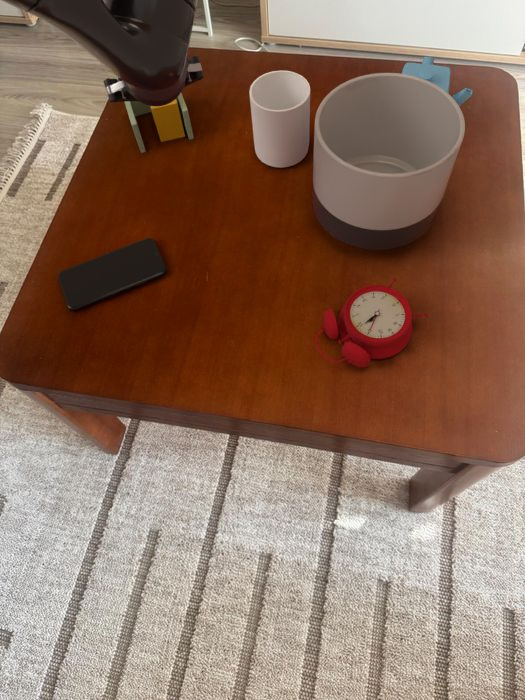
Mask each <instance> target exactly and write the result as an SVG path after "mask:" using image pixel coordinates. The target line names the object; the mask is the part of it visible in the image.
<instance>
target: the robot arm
mask: <svg viewBox="0 0 525 700" xmlns="http://www.w3.org/2000/svg"><path fill="white" fill-rule="evenodd" d="M1 1H2V2H4V3H5V4H8V5H11V6H12V7H15V8H17V9H19V10H22V11H24V12H26V13H27V14H29V15H32V16H34V17H36V18H37V19H40V20H42V21H44V22H45V23H47V24H49V25H50V26H52V27H53V28H54V29H56V30H58V31H59V32H61V33H62V34H63V35H65V36H66V37H67V38H69V39H70V40H72V41H73V42H74V43H75V44H77V45H78V46H79V47H80V48H82V49H83V50H84V51H85V52H86V53H88V54H89V55H90V56H91V57H92V58H94V59H95V60H96V61H97V62H98V63H100V64H101V65H102V66H104V68H106V69H107V70H108V71H109V72H110V73H112V74H113V75H114V76H116V77H117V78H111V77H110V78H109V77H107V78H105V79H103V85H104V88H105V91H106V94H107V97H108V100H109V102H110V103H114V104H115V103H125V102H128V101H137V102H138V101H140V102H141V103H143V104H146V105H149V106H164V105H167V104H169V103H171V102H172V101H174V100H175V99H176V98H177V97H178V96H179V95H180V93H181V94H182V92H183V90H184V88H186V87H188V86H190V85H192V84H194V83H197V82H198V81H202V80H203V79H205V75H204V72H203V68H202V64H201V60H200V56H197V55H193V56H192V57H190V58H189V47H190V43H191V37H192V33H193V28H194V22H195V17H196V12H197V7H198V1H199V0H1Z"/></svg>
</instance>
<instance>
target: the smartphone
mask: <svg viewBox="0 0 525 700" xmlns="http://www.w3.org/2000/svg"><path fill="white" fill-rule="evenodd" d="M167 272H168V268H167V265H166V263H165V260H164V258H163V256H162V253H161V252H160V249H159V246H158V245H157V242H156V240H155V239H154V238H152V237H147V238H143V239H141V240H138V241H136V242H133V243H131V244H128V245H126V246H123V247H120V248H118V249H115V250H113V251H109V252H107V253H104V254H102V255H100V256H97V257H94V258H92V259H90V260H86V261H84V262H82V263H79V264H76V265H74V266H71V267H69V268H66V269H63V270H61V271H60V272H59V273H58V276H57V279H58V282H59V285H60V289H61V292H62V294H63V298H64V301H65V304H66V307H67V309H68V310H69V311H71V312H76V311H79V310H82V309H84V308H87V307H89V306H91V305H94V304H96V303H99V302H101V301H104V300H106V299H109V298H112V297H114V296H117V295H120V294H121V293H124V292H127V291H129V290H132V289H134V288H137V287H139V286H142V285H144V284H147V283H149V282H152V281H154V280H157V279H159V278H161V277H164V276H165V275H166V274H167Z"/></svg>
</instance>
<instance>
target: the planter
mask: <svg viewBox="0 0 525 700" xmlns="http://www.w3.org/2000/svg"><path fill="white" fill-rule="evenodd" d="M451 96H452V95H450V94H448V93H447V92H446V91H445V90H443V89H442V88H440V87H439V86H437V85H435V84H434V83H432V82H429V81H427V80H425V79H422V78H419V77H415V76H412V75H407V74H401V73H400V72H375V73H369V74H364V75H361V76H357V77H354V78H351V79H349V80H347V81H345V82H343V83H341V84H339V85H338V86H336V87H334V89H332V90H331V91H330V92H329V93H327V95H325V97H324V98H323V99H322V100H321V102H320V104H319V105H318V108H317V109H316V113H315V116H314V132H313V135H314V136H313V164H312V197H311V200H312V201H311V204H312V210H313V212H314V215H315V217H316V220H317V221H318V222H319V224H320V225H321V227H322V228H323V229H324V230H325V231H326V232H327V233H328V234H330V235H331V236H332V237H334V238H335V239H337V240H338V241H340V242H342V243H344V244H346V245H349V246H352V247H355V248H359V249H363V250H364V249H365V250H373V251H375V250H376V251H380V250H381V251H383V250H385V251H386V250H391V249H396V248H400V247H404V246H406V245H408V244H409V245H410V243H413V242H414V241H416V240H418V239H419V238H421V237H422V236H423V235H425V233H427V232H428V230H429V229H430V228H431V227H432V226H433V224H434V222H435V220H436V218H437V215H438V213H439V211H440V207H441V204H442V202H443V198H444V196H445V193H446V190H447V187H448V184H449V181H450V179H451V175H452V173H453V169H454V167H455V164H456V161H457V158H458V155H459V152H460V150H461V146H462V144H463V141H464V139H465V138H464V137H465V133H466V122H465V116H464V114H463V110H462V109H461V107H460V106H459V105H458V104H457V103H456V101H455V100H454V99H453V98H452V97H451Z"/></svg>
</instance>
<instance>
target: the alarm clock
mask: <svg viewBox="0 0 525 700" xmlns="http://www.w3.org/2000/svg"><path fill="white" fill-rule="evenodd" d="M396 280H397V278H396V277H393V278H392V281H391V283H390V284H389V286H386V285H382V284H370V285H366V286H363V287H360V288H359V289H357V290H355V291H354V292H353V293H352V294H350V296H349V297H348V298H347V300H346V301H345V303H344V305H343V307H342V308H341V310H340V312H339V314H338V318H337V320H336V316H335V313H334V310H333V309H332V308H329V309H327V310H325V311H324V313H323V314H322V324H320V326H319V327H320V328H322V329H321V330H320V331H319V332H318V333H317V335H316V337H315V340H314V343H315V346H316V349H317V350H318V352H319V354H320V355H321V356H322V357H323V358H324V359H325V360H326V361H328V362H330V363H332V364H338V363H341V362H344V361H347V362H348V364H349V365H353V366H355V367H357V368H365V367H367V366H368V365H369V364H370V363H371V360H383V359H384V360H385V359H388V358H391V357H394V356H395V355H398V354H399V353H400V352H402V351H403V350H404V349H406V347H407V345H408V344H409V342H410V340H411V338H412V336H413V335H412V334H413V318H419V317H425V318H428V317H429V314H428V313H425V314H413V312H412V308H411V306H410V303H409V301H408V300H407V298H406V297H405V296H404V295H403V294H402V293H400V291H398V290H397V289H395V288H392V287H393V285H394V282H396ZM324 332H325V334H326V336H327V337H328V339H330V340H337V339H338V338H340V339H339V340H338V341H337V342H338V343H339V345H341V344H342V343H343V346H342V347H341V354H342V356H343V357H344V358H342V359H339V360H333V359H331V358H328V357H327V356H326V355H325V354H324V353H323V352H322V350H321V349H320V347H319V344H318V338H319V336H320V335H322V333H324Z"/></svg>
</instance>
